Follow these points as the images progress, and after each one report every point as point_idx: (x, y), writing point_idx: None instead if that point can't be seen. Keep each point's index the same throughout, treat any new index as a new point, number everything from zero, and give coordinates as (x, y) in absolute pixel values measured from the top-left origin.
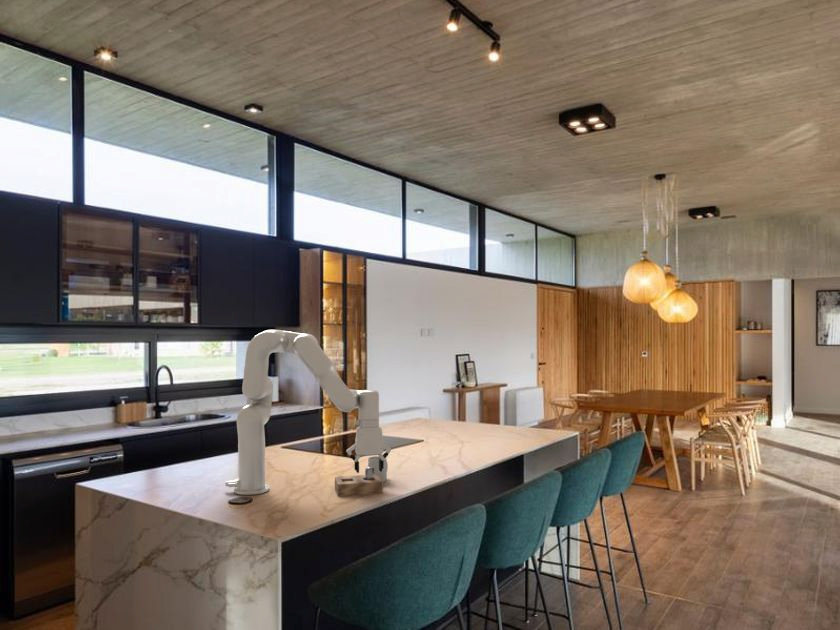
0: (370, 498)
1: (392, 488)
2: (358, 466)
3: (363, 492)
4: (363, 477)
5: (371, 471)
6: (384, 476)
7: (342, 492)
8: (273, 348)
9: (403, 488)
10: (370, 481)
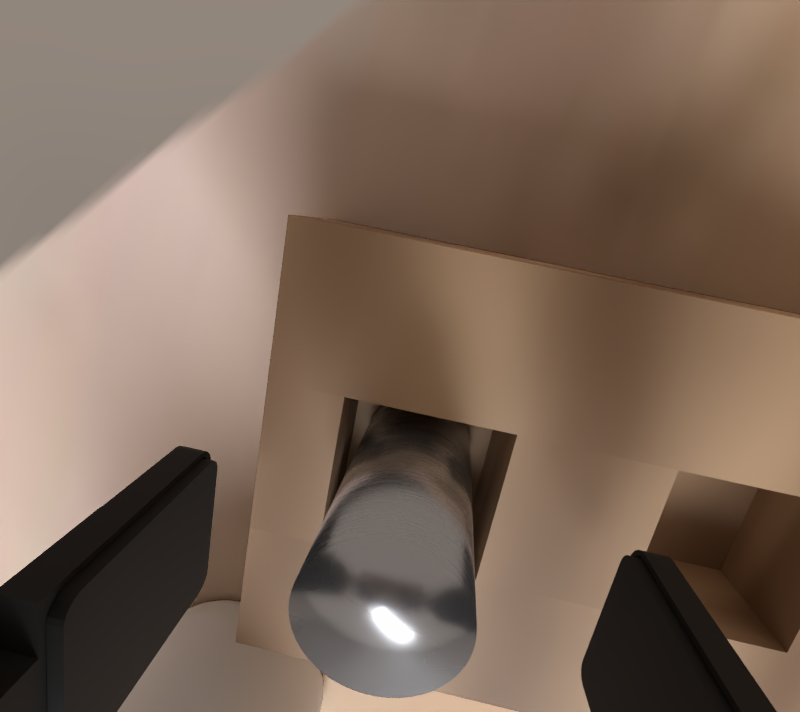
0: (563, 24)
1: (174, 359)
2: (707, 656)
3: (565, 267)
4: None
5: (382, 498)
6: None
7: None
8: None
9: (63, 305)
10: (459, 320)
